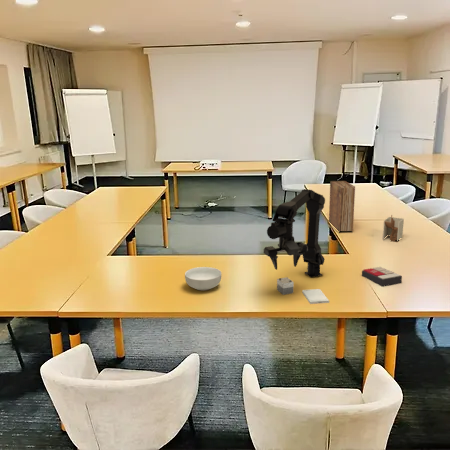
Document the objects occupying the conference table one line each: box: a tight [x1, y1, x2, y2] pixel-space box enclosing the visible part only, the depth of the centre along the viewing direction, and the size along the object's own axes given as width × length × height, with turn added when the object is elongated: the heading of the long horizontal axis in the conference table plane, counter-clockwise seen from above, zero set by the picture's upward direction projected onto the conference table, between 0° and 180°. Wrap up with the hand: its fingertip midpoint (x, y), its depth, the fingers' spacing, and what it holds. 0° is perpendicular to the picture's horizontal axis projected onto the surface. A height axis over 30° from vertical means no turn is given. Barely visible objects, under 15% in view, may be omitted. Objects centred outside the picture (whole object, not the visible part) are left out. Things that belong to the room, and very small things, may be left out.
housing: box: [276, 277, 295, 296], centre depth 197 cm, size 6×5×6 cm
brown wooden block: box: [328, 179, 356, 233], centre depth 294 cm, size 25×9×30 cm, turn 2°
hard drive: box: [302, 288, 330, 305], centre depth 191 cm, size 2×8×12 cm
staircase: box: [382, 214, 405, 241], centre depth 268 cm, size 9×11×17 cm
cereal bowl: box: [184, 266, 222, 291], centre depth 204 cm, size 17×17×7 cm
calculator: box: [361, 266, 403, 288], centre depth 209 cm, size 11×4×15 cm
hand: (285, 267), depth 195 cm, fingers open, 9 cm apart
